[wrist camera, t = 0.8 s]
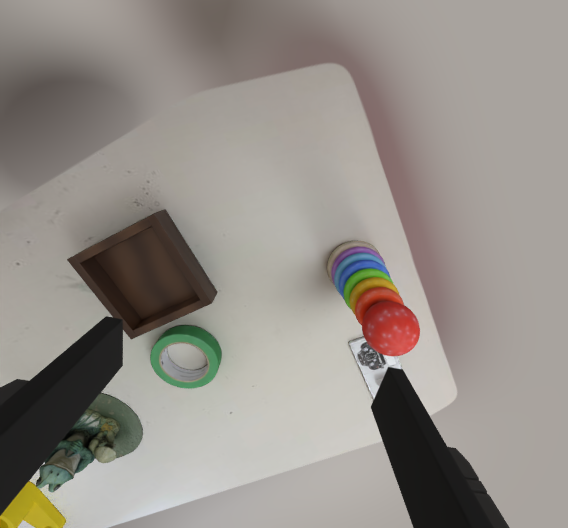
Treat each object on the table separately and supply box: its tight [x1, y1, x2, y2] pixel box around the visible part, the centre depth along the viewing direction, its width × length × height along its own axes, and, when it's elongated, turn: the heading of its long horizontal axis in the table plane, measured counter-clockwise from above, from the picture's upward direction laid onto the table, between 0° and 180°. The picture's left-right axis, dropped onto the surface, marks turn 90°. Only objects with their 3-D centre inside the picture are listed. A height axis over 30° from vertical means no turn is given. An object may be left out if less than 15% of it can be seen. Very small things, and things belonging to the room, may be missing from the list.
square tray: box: [67, 210, 217, 339], centre depth 39 cm, size 14×14×4 cm
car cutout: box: [349, 337, 402, 399], centre depth 45 cm, size 15×7×4 cm, turn 24°
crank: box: [0, 481, 66, 528], centre depth 58 cm, size 18×8×6 cm, turn 24°
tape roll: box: [150, 325, 222, 388], centre depth 45 cm, size 11×11×3 cm
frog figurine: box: [36, 393, 142, 492], centre depth 47 cm, size 18×18×12 cm
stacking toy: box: [327, 241, 420, 356], centre depth 32 cm, size 8×8×19 cm
